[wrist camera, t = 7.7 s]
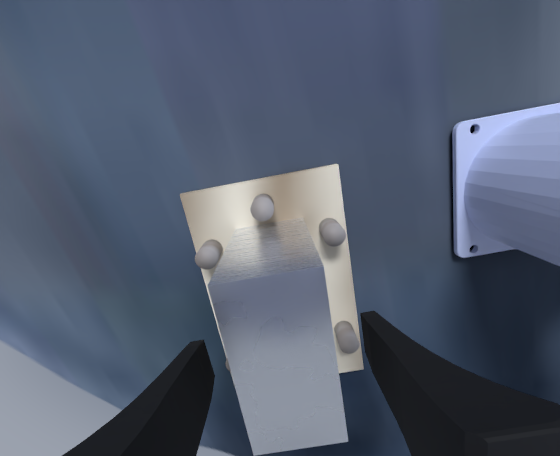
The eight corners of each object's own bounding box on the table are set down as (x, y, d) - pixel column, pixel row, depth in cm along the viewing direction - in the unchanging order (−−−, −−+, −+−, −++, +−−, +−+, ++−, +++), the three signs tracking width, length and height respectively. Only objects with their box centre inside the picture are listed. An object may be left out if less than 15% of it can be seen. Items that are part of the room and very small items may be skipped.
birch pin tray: (336, 163, 16) (345, 166, 14) (361, 362, 20) (371, 388, 18) (183, 192, 16) (169, 199, 14) (237, 383, 20) (232, 411, 18)
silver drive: (303, 217, 16) (325, 266, 9) (321, 333, 18) (349, 441, 11) (234, 229, 16) (206, 285, 9) (260, 343, 18) (252, 455, 12)
